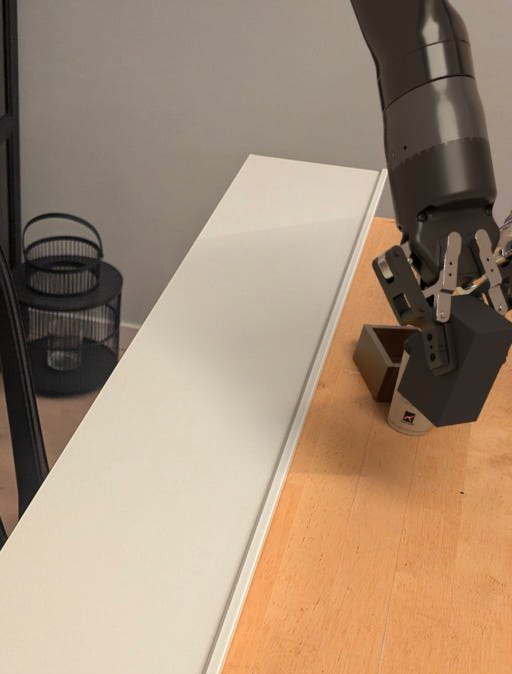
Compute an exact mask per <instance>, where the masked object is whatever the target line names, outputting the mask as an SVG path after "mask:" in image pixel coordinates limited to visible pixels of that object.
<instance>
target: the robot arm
mask: <svg viewBox="0 0 512 674" xmlns="http://www.w3.org/2000/svg"><path fill="white" fill-rule="evenodd" d="M349 1H350V5H351V8H352V10H353V13H354V15H355V18H356V21H357V23H358V27H359V29H360V33H361V35H362V37H363V40H364V42H365V44H366V47H367V49H368V51H369V53H370V55H371V58H372V62H373V65H374V68H375V77H376V78H375V79H376V86H377V87H376V88H377V94H378V98H379V106H380V111H381V117H382V131H383V133H382V135H383V137H382V138H383V139H382V140H383V151H384V158H385V165H386V171H387V176H388V177H387V178H388V184H389V189H390V195H391V201H392V202H391V203H392V209H393V215H394V221H395V226H396V229H397V230H398V231H399V232H400V233H401V239H400V242H399V245H398V244H394V245H392V246H391V247H390V248H387V250H385V251H384V252H382V253H381V254H379V255H377V256H376V257H375V258H374V259H373V260H372V262H371V267H372V270H373V272H374V274H375V277H376V278H377V281H378V283H379V285H380V287H381V289H382V291H383V294H384V295H385V298H386V300H387V302H388V304H389V306H390V309H391V311H392V313H393V314H394V317H395V319H396V321H397V324H398V325H399V326H415V327H418V329H419V330H420V331H421V332H422V333H423V338H424V344H425V350H426V356H427V363H428V366H429V368H430V369H431V370H433V374H434V375H435V376H444V375H446V374H449V373H451V372H454V371H456V370H457V368H458V360H457V353H456V347H455V341H454V334H453V328H452V323H448V324H447V321H448V320H449V318H450V308H451V296H453V294H454V292H455V291H456V290H457V293H458V295H463V294H471V295H472V296H477V297H478V298H479V299H481V300H482V301H483V302H485V303H486V302H487V304H488V305H489V306H490V307H492V308H493V309H494V310H496V311H497V312H498V313H500V314H501V315H502V316H504V317H505V318H506V315H507V313H509V312H510V311H512V236H510V235H507V234H503V233H501V229H500V227H499V225H498V223H497V222H496V220H495V217H494V215H493V211H494V210H493V209H494V206H495V203H496V200H497V196H498V189H497V183H496V177H495V169H494V164H493V157H492V151H491V144H490V137H489V132H488V131H489V130H488V126H487V119H486V118H487V117H486V112H485V108H484V105H483V101H482V99H481V94H480V92H479V89H478V84H477V78H476V73H475V71H476V70H475V65H474V59H473V52H472V47H471V46H472V45H471V39H470V35H469V31H468V27H467V25H466V22H465V20H464V18H463V17H462V15H461V14H460V13H459V12H458V11H457V10H456V8H455V7H454V6H453V4H452V3H451V2H450V1H449V0H349ZM415 272H416V274H415ZM481 278H482V280H481V282H479V283H478V284H475V283H474V282H476V281H477V280H479V279H481ZM483 294H484V295H483ZM484 296H485V298H484ZM485 299H486V301H485ZM433 301H434V308H433V307H432V302H433ZM508 356H509V352H508V353H507V356H506V358H505V360H504V362H503V364H502V366H504V365H505V364H506V362H507V357H508Z"/></svg>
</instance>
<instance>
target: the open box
mask: <svg viewBox="0 0 512 674" xmlns="http://www.w3.org/2000/svg"><path fill="white" fill-rule="evenodd" d="M416 332H419V329H418V327H415V326H411V325H407V326H401V325H394V324H393V325H390V324H367V323H364V324H363V325H362V328H361V331H360V334H359V336H358V340H357V342H356V345H355V349H354V352H353V355H352V360H353V362H354V364H355V365H356V367H357V369H358V371H359V373H360V375H361V378H362V379H363V381H364V383H365V384H366V386H367V388H368V390H369V392H370V395H371V396H372V398H373V400H374V401H375V402H380V403H381V402H384V403H392V399H393V395H394V391H395V387H396V382H397V378H398V374H399V370H400V366H401V362H402V358H403V354H404V350H405V349H404V347H403V346H404V342H405V341H406V340H407V338H408V337H409V336H411V335H412V334H414V333H416Z"/></svg>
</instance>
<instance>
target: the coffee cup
mask: <svg viewBox="0 0 512 674" xmlns="http://www.w3.org/2000/svg"><path fill="white" fill-rule="evenodd" d="M418 333H419V332H416V333H414V334H412V335H411V336H409V337H408V338H407V340H406V341H405V342H404V346H403V347H404V349H405V350H404V354H403V358H402V362H401V366H400V370H399V374H398V378H397V382H396V387H395V391H394V395H393V399H392V402H390V408H389V410H388V411H389V412H388V416H387V419H386V420H387V424H388V425H389V426H390V427H391V428H392V429H393V430H395V431H397V432H399V433H401V434H402V435H403V434H404V435H408V436H413V437H414V436H416V437H420V436H425V435H428V434H429V433H430V432H431V430H432V429H433V427H434V425H433V424H432V423H431V422H430V421H429V420H428V419H427V418H426V417H425V416H424V415H423V414H421V413H420V412H419V411H418V410H417V409H416V408H415V407H414V406H413V405H412V404H411V403H410V402H409V401H408V400H406V399H405V398H404V397H403V396H402V395H401V394H400V393H399V392H398V391H397V389H398V386H399V383H400V381H401V378H402V375H403V373H404V370H405V367H406V365H407V362H408V359H409V357H410V354H411V351H412V349H413V346H414V343H415V341H416V338H417V335H418Z"/></svg>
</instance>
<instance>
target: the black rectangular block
mask: <svg viewBox="0 0 512 674" xmlns="http://www.w3.org/2000/svg"><path fill="white" fill-rule="evenodd" d="M432 307H433V308H434V301H433V302H432ZM448 323H452V328H453V334H454V341H455V347H456V353H457V360H458V368H457V370H456V371H454V372H451V373H449V374H446V375H444V376H435V375H434V374H433V370H431V369H430V368H429V366H428V363H427V356H426V350H425V344H424V338H423V333H422V332H421V331H420V330H419V333H418V335H417V338H416V341H415V343H414V346H413V349H412V351H411V354H410V357H409V359H408V362H407V365H406V367H405V370H404V373H403V375H402V378H401V381H400V383H399V386H398V389H397V391H398V392H399V393H400V394H401V395H402V396H403V397H404V398H405V399H406V400H408V401H409V402H410V403H411V404H412V405H413V406H414V407H415V408H416V409H417V410H418V411H419V412H420V413H421V414H423V415H424V416H425V417H426V418H427V419H428V420H429V421H430V422H431V423H432V424H433V427H434V426H435V428H444V427H449V426H450V427H451V426H456V425H463V424H469V423H475V422H477V421H478V419H479V417H480V415H481V413H482V410H483V408H484V406H485V404H486V401H487V400H488V397H489V395H490V393H491V390H492V388H493V386H494V384H495V381H496V380H497V378H498V375H499V373H500V370H501V368H502V367H503V365H504V364H503V362H504V360H505V358H506V359H507V357H506V356H507V353H508V354H509V352H510V349H511V346H512V321H511V320H509V319H508V318H507V317H506V316H505V317H504V316H502V315H501V314H500V313H498V312H497V311H496V310H494V309H493V308H492V307H490V306H489V304H488V303H486V301H485V302H483V301H482V300H481V299H479V298H478V297H477V296H472V295H471V294H463V295H459V294H456V295H452V296H451V308H450V318H449V320H448V321H447V324H448ZM502 364H503V365H502Z"/></svg>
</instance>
